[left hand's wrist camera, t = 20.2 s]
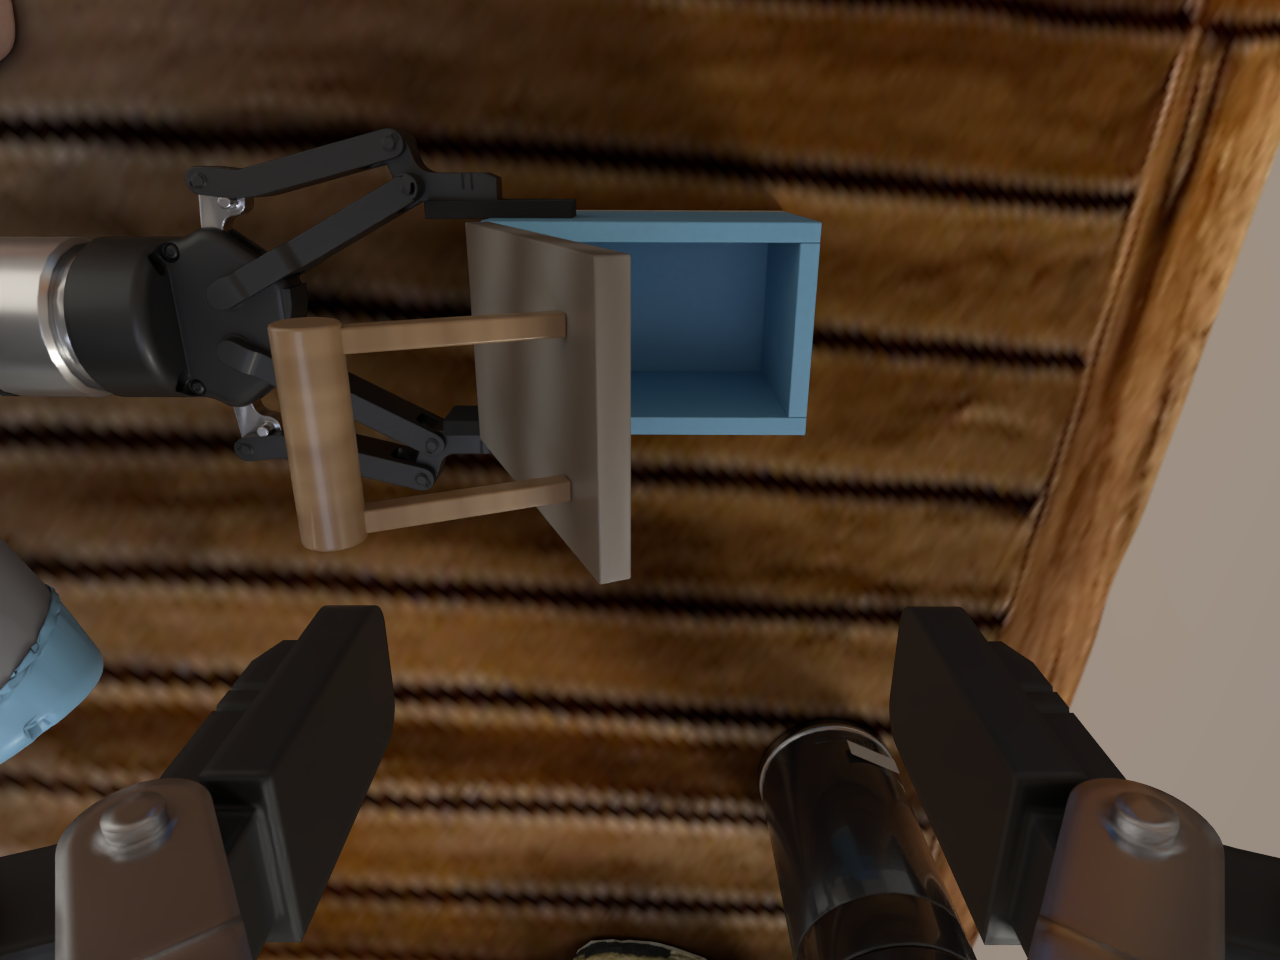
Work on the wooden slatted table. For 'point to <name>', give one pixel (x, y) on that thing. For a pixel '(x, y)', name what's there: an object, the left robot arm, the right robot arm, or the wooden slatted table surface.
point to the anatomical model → (6, 28)
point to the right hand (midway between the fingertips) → (576, 319)
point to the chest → (711, 314)
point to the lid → (486, 399)
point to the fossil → (631, 951)
